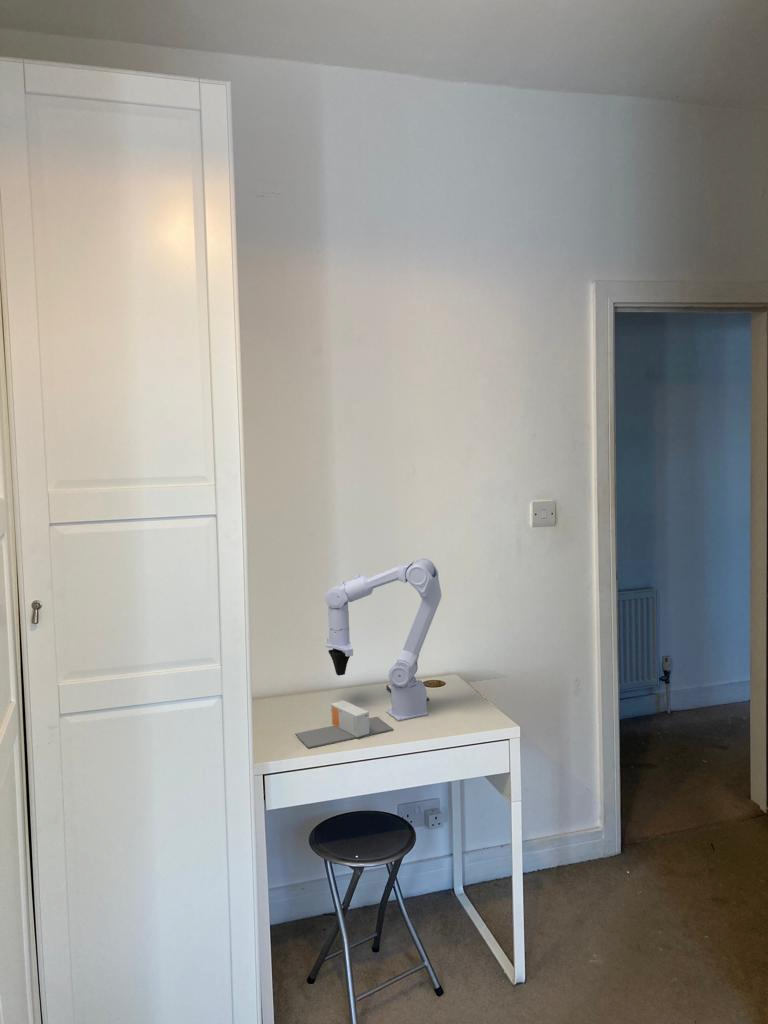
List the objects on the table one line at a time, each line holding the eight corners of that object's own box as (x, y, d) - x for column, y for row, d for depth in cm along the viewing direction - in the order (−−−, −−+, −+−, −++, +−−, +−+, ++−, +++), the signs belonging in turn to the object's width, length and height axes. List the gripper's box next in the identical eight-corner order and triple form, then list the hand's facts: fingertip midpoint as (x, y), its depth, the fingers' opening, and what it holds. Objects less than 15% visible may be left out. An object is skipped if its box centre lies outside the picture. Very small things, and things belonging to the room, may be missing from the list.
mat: (377, 718, 215) (377, 716, 215) (393, 730, 206) (393, 728, 206) (295, 735, 205) (295, 733, 205) (308, 749, 196) (308, 747, 196)
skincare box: (330, 703, 210) (356, 715, 200) (343, 699, 212) (369, 711, 203) (331, 725, 210) (357, 738, 201) (343, 721, 213) (370, 733, 204)
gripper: (316, 624, 225) (318, 669, 226) (335, 635, 212) (337, 684, 213) (339, 620, 228) (340, 666, 229) (359, 632, 215) (360, 679, 216)
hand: (340, 674), depth 221 cm, fingers closed
